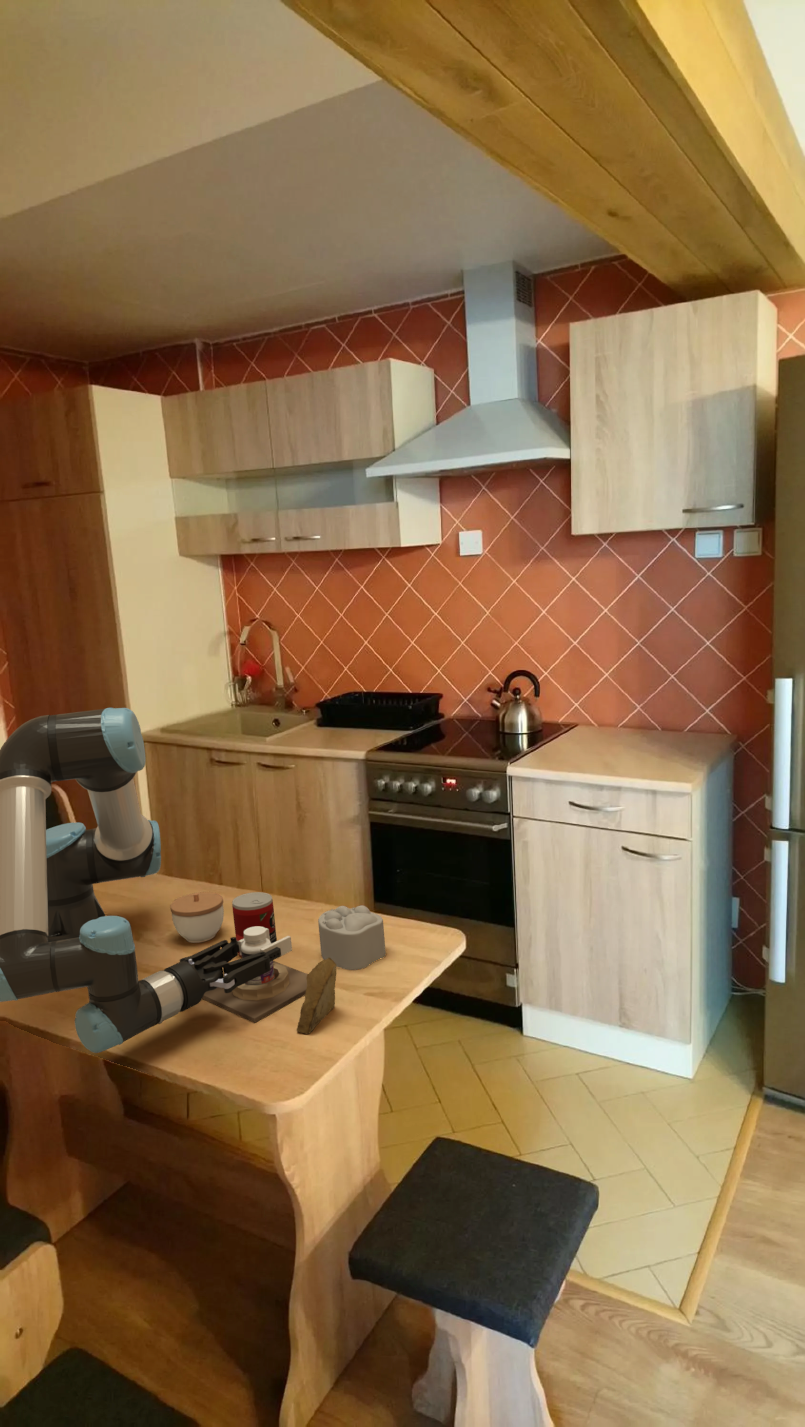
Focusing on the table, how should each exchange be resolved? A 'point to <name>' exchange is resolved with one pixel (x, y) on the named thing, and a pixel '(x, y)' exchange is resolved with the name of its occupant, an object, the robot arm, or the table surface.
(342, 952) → the lumpy-topped squat cylinder
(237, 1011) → the ring plate
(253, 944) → the pill bottle
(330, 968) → the rock
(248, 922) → the canned food
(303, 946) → the table surface
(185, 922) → the lidded jar
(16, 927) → the robot arm
